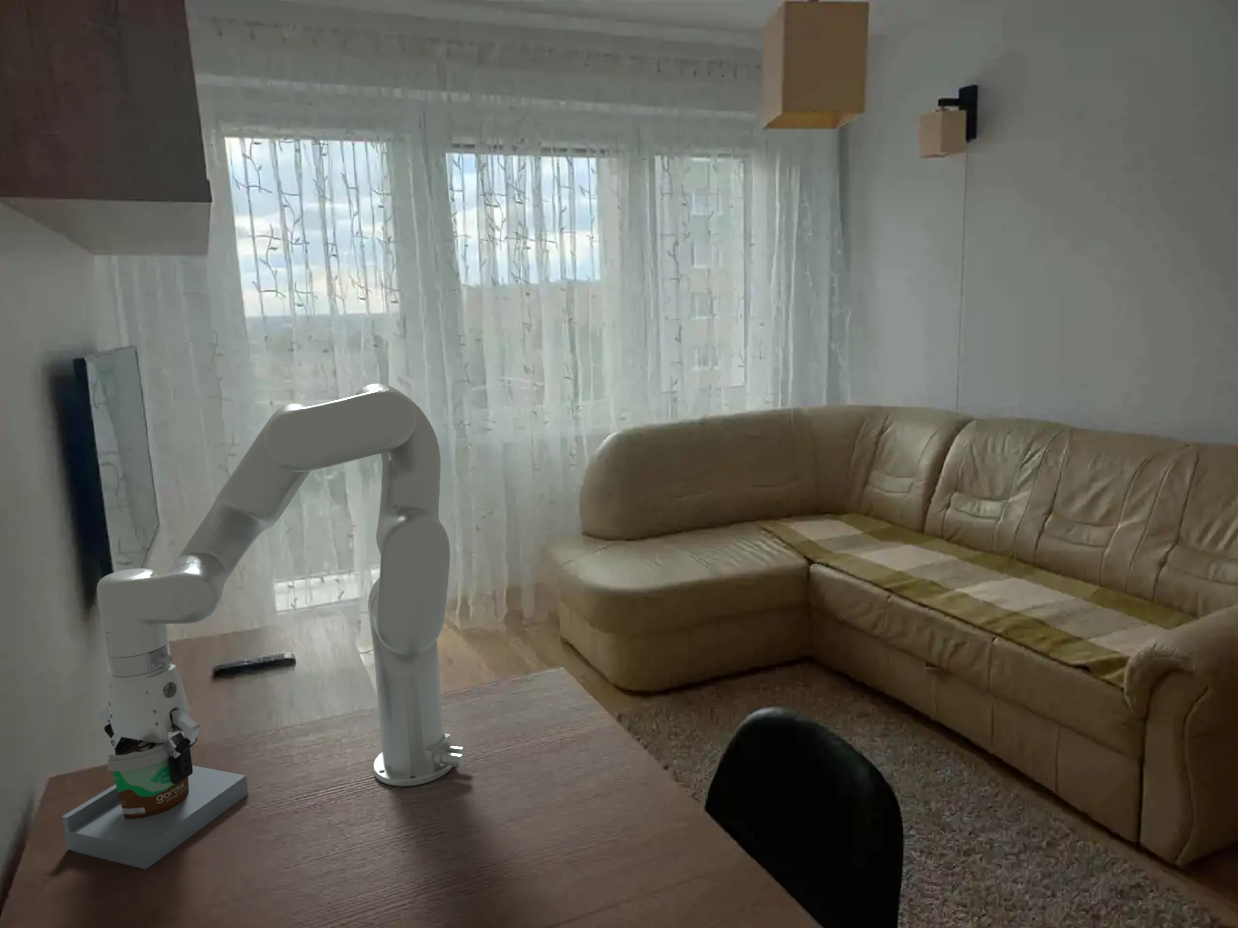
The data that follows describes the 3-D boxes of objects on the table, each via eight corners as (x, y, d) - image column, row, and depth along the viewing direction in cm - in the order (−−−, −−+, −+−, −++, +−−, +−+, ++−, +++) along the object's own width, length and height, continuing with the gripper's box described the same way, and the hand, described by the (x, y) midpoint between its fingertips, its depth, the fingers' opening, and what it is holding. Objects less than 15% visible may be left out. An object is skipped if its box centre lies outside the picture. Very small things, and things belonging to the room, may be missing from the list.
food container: (153, 830, 112) (143, 761, 110) (115, 824, 113) (105, 756, 111) (217, 780, 124) (209, 717, 122) (182, 776, 125) (173, 713, 123)
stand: (248, 793, 125) (244, 763, 124) (145, 869, 108) (140, 834, 108) (176, 779, 130) (172, 749, 129) (67, 849, 113) (61, 816, 112)
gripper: (210, 655, 115) (224, 768, 118) (116, 642, 121) (132, 751, 124) (165, 677, 108) (181, 797, 112) (67, 663, 114) (86, 778, 117)
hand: (155, 773), depth 118 cm, fingers open, 9 cm apart
